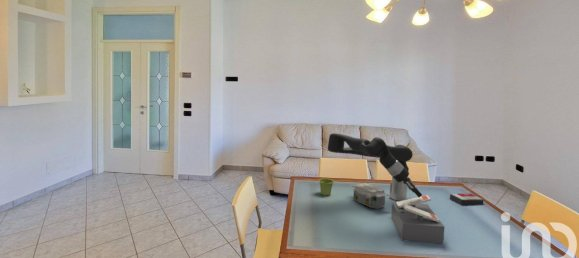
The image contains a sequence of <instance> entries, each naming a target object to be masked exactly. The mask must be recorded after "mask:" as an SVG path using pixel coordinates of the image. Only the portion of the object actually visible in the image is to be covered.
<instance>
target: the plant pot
mask: <svg viewBox="0 0 579 258" xmlns="http://www.w3.org/2000/svg"><path fill="white" fill-rule="evenodd" d="M318 182H319V187H320V194H321V195H322V196H325V195H326V196H330V195H331V193H332V188H333V184H334V180H333V179H331V178H320V179H319V180H318Z"/></svg>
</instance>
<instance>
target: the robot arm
mask: <svg viewBox="0 0 579 258" xmlns="http://www.w3.org/2000/svg"><path fill="white" fill-rule="evenodd" d="M345 143H346V144H347V145H348V147H345ZM327 151H328V152H331V153H336V154H348V155H357V156H363V157H369V158H379V159H378V160H379V163H380V165H382V166H383V167H384V168H385V169H386V171H387V172H388V174H389V175H390V176H391V182H390V183H389V184H390V185H389V195H390V196H388V197H389V198H390V199H392V200H394V201H397V202H399V201H403V200H407V197H408V196H407V195H408V189H409V190H410V191H411V192H412V193H414V194H415V195H416V196H417V197H421V196H423V194H422V192H420V191H419V190H418V188H417V186H416V185H415V184H414V182H413V181H412V179H411V178H410V177H409V175H410V171H409V166H408V164H407V162H408V161H410V160H412V158H413V151H412V150H411V148H409V147H407V146H406V145H403V144H396V145H395V146H391V145H388V144H386V142H385V140H384V139H382V138H381V137H378V136H375V137H373V138H372V139H371V140H368V139H367V138H357V137H353V136H349V135H346V134H341V133H337V132H335V133H330V134H329V137H328V143H327Z"/></svg>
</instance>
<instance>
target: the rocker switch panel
mask: <svg viewBox="0 0 579 258" xmlns="http://www.w3.org/2000/svg"><path fill="white" fill-rule="evenodd" d="M396 202H397V201H392V202H391V203H392V204H391V213H390V214H391V215H390V216H391V219H392V222H393V223H394V225H395V228H396V231H397V232H398V236H399V237H401V238H400V239H402V240H401V241H404V240H409V241H408V242H417V241H419V243H432V244H444V237H445V227H446V226H445V225H444V223H443V222H442V221H441V220H440V221H439V222H436V221H434V220H431V219H428V218H426V217H423V216H420V215H418V214H415V213H412V212H410V211H407V210H405V209H404V207H402V208H398V206H397V204H396ZM410 206H412V207H415V208H417V209H420V210H423V211H425V212H428V213H431V214H433V215H436V213H435V212H434V211H433V209H432V208H431V207H430V205H429V204H428V203H426V204H425V203H419V204H415V205H410ZM436 217H437V218H438V219H439V217H438V216H437V215H436Z"/></svg>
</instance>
